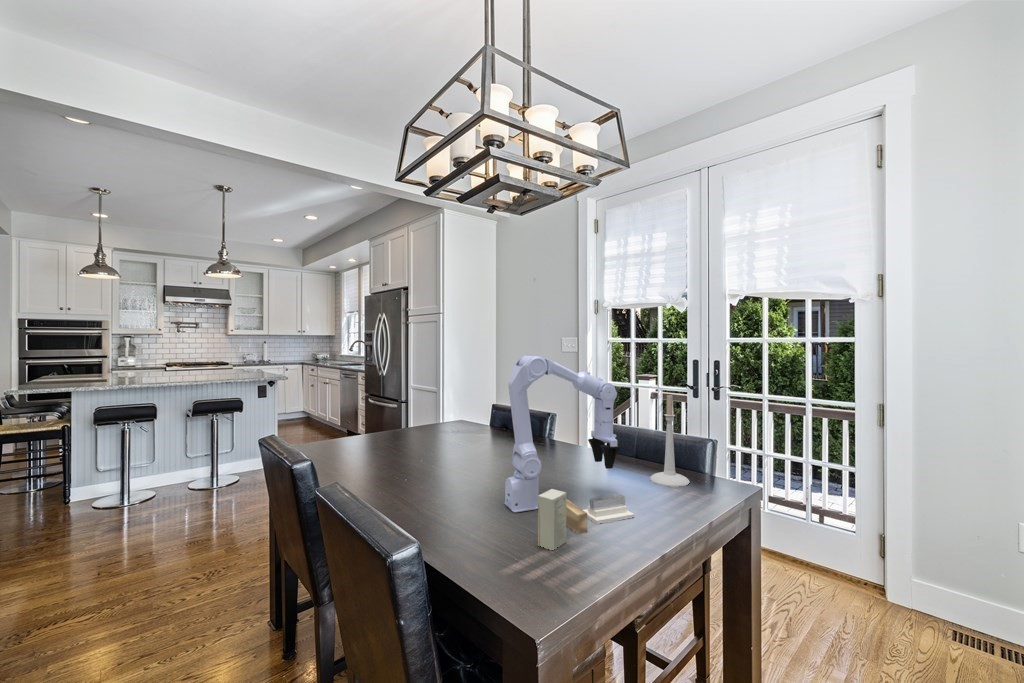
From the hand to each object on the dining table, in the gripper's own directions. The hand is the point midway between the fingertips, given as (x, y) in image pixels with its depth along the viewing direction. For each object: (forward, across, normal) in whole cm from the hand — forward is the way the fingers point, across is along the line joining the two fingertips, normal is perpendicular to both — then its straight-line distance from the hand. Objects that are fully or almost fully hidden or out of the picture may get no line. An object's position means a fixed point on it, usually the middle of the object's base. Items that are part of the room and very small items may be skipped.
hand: (603, 464), depth 140 cm
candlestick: (+10, +9, -29) cm, 32 cm away
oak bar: (+10, -16, +17) cm, 26 cm away
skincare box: (+10, -27, +26) cm, 39 cm away
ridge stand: (+10, -14, +6) cm, 18 cm away
